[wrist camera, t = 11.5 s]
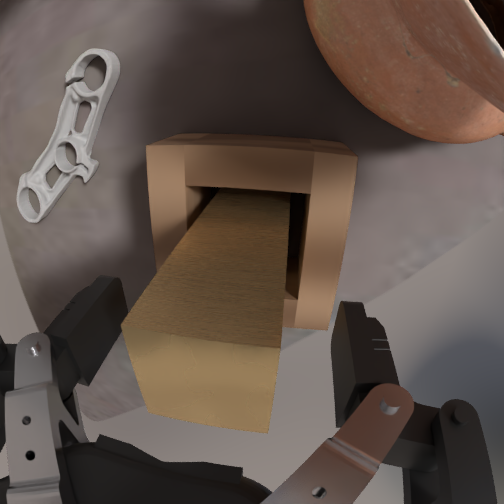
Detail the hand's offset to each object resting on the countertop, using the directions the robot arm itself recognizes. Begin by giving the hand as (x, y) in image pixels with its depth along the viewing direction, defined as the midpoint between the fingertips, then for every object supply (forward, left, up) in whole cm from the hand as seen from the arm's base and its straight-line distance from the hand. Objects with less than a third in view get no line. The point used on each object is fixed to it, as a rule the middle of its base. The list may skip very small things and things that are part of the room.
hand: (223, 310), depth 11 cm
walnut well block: (0, 0, -11) cm, 11 cm away
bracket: (-4, -15, -11) cm, 19 cm away
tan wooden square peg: (0, 0, -11) cm, 11 cm away
